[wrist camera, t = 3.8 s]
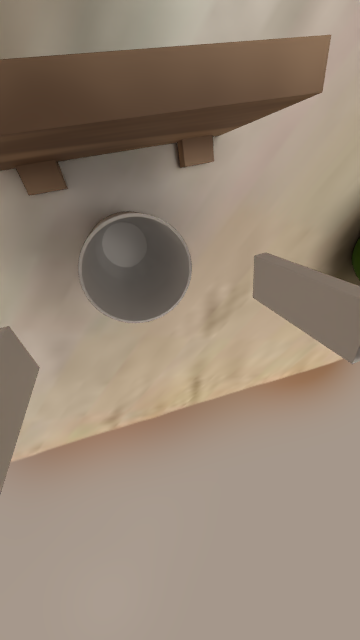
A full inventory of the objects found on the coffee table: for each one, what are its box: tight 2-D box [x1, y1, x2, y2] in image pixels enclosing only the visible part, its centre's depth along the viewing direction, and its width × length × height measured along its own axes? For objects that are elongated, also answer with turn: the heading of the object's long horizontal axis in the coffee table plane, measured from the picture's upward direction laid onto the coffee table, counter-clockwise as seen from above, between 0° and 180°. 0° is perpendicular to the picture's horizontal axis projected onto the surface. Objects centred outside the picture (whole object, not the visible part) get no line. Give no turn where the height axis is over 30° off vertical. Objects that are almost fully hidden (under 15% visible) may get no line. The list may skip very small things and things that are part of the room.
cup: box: [78, 212, 192, 323], centre depth 20 cm, size 8×8×10 cm
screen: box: [0, 35, 331, 195], centre depth 14 cm, size 6×20×12 cm, turn 100°
